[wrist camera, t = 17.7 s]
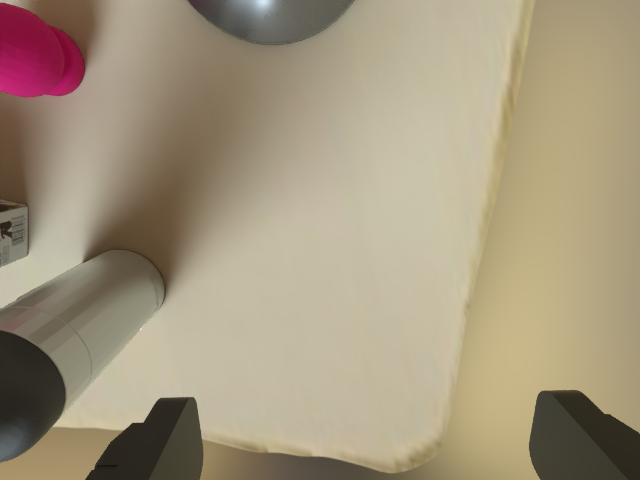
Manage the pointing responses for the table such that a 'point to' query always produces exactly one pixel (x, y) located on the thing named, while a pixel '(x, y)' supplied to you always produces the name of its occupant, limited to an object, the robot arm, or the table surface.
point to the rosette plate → (271, 18)
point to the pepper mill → (36, 56)
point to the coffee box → (13, 231)
